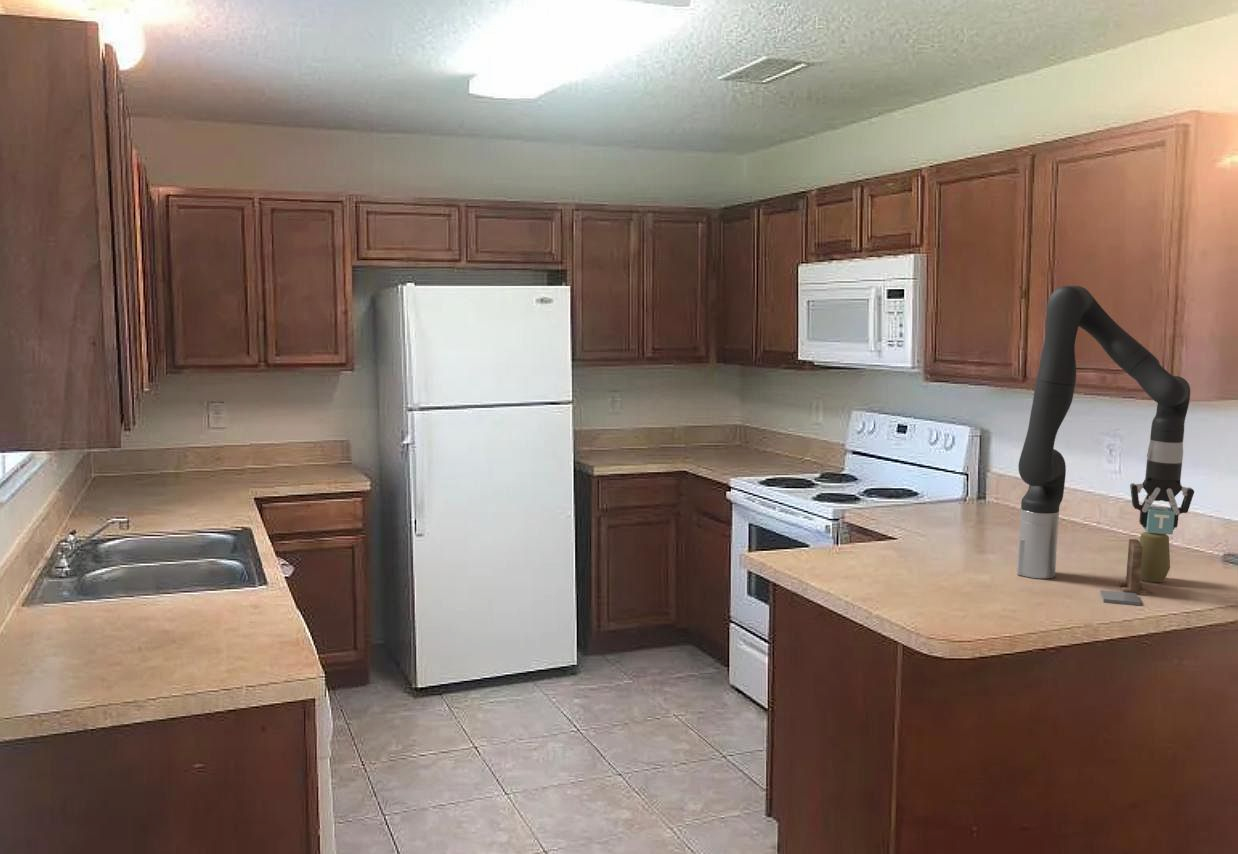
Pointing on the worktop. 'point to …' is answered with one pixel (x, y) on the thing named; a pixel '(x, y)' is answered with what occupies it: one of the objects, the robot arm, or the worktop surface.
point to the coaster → (1120, 597)
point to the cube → (1160, 520)
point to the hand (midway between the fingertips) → (1158, 527)
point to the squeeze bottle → (1154, 557)
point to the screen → (1133, 569)
